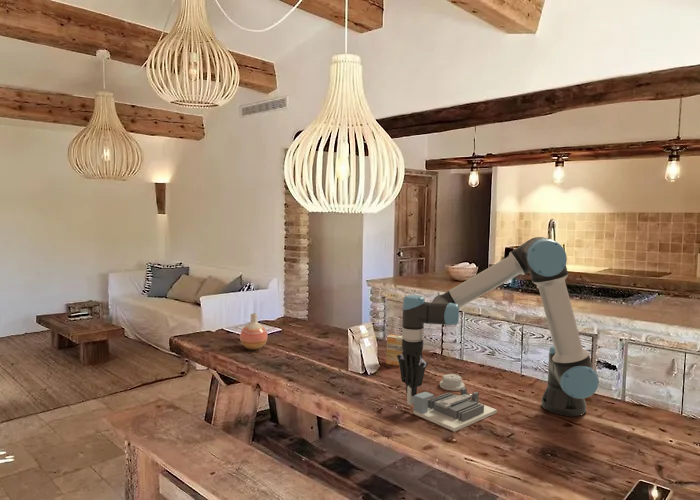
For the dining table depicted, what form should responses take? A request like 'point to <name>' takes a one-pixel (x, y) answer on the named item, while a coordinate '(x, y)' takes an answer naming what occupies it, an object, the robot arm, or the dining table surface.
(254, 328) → the vase
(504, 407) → the dining table surface
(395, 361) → the supplement box
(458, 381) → the beige hat
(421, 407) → the blue-grey block
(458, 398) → the strap
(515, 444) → the dining table surface
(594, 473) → the dining table surface
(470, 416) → the mechanical assembly board
